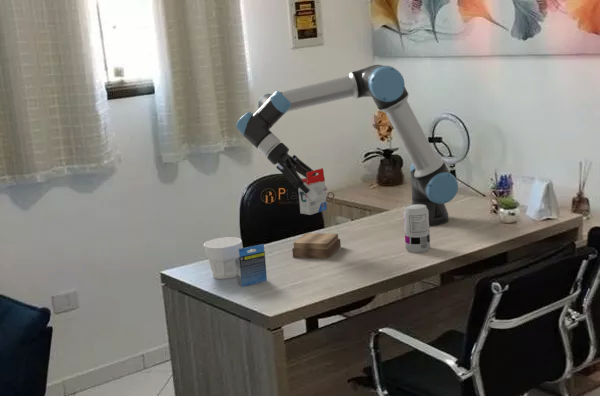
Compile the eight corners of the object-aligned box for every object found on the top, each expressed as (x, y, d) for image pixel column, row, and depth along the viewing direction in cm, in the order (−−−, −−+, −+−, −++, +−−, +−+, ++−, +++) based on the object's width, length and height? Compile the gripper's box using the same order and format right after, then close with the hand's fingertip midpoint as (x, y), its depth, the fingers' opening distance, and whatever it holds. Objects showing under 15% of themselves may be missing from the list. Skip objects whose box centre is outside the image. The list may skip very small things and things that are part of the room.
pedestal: (340, 247, 283) (339, 233, 281) (329, 258, 271) (327, 244, 270) (305, 246, 287) (304, 232, 286) (292, 257, 275) (291, 243, 274)
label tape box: (262, 278, 256) (258, 240, 254) (267, 281, 253) (264, 243, 250) (236, 284, 252) (233, 246, 250) (242, 287, 249) (238, 249, 246)
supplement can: (400, 251, 272) (398, 208, 269) (414, 245, 278) (412, 202, 275) (420, 254, 267) (418, 210, 263) (434, 248, 272) (432, 205, 269)
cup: (213, 283, 254) (210, 250, 252) (202, 273, 266) (198, 241, 263) (250, 276, 259) (247, 243, 257) (237, 266, 270) (234, 234, 268)
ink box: (317, 208, 280) (314, 166, 277) (327, 209, 277) (324, 167, 274) (299, 213, 275) (296, 171, 271) (309, 215, 271) (306, 172, 268)
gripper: (279, 151, 287) (324, 195, 285) (254, 163, 267) (303, 210, 265) (292, 136, 284) (337, 180, 282) (267, 147, 264) (317, 194, 262)
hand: (321, 194), depth 273 cm, fingers closed on ink box, 9 cm apart
